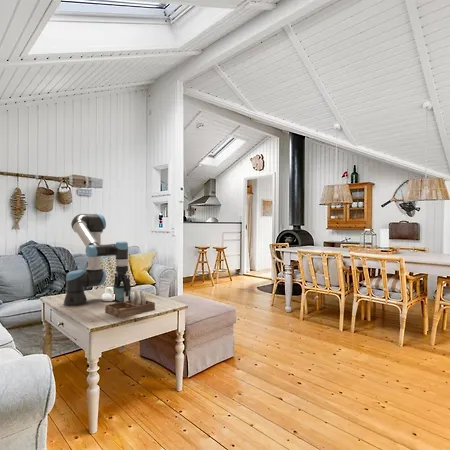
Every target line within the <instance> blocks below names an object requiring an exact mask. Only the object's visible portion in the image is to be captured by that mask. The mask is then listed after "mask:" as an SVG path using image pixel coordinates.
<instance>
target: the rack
mask: <svg viewBox="0 0 450 450" xmlns="http://www.w3.org/2000/svg"><path fill="white" fill-rule="evenodd" d="M130 297H131V299H130V300H129V301H126V302H119V303H117V302H114V303H110V304H106V305H105V306H104V307H105V309H104V311H105V313H106V314H109V315H112V316H114V317H117V318H119V319H121V318H125V317H129V316H133V315H137V314H140V313H141V314H142V313H145V312H149V311H153V310H155V309H156V307H155V306H156V303H155V302H154V301H151V300H148V299H147V298H146V297H147V296H146V294H145V292H144V291H143V290H138V291H133V292H132V293H130Z"/></svg>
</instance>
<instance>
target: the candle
mask: <svg viewBox="0 0 450 450" xmlns="http://www.w3.org/2000/svg"><path fill="white" fill-rule="evenodd" d="M112 290H113V292H114V288H113V289H112ZM131 292H132V291H131V290H130V294H132V293H131ZM129 300H131V295H130V296H129V298H128V301H129ZM119 302H124V301H118V300H117V299H116V297H115V301H114V303H119Z"/></svg>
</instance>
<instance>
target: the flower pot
mask: <svg viewBox="0 0 450 450" xmlns="http://www.w3.org/2000/svg"><path fill="white" fill-rule="evenodd" d="M113 288H114V291H113V294H115V297H116V299H117V300H118V301H124V291H125V290H124V286H123V284H122V285H121V284H120V286H114V285H113ZM130 288H131V286H130ZM131 289H132V288H131ZM129 296H130V297H131V293H130V290H129V291H128V298H129Z"/></svg>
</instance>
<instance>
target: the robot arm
mask: <svg viewBox="0 0 450 450" xmlns="http://www.w3.org/2000/svg"><path fill="white" fill-rule="evenodd" d="M70 225H71V229H72V230H73V232H74V233H76V234H77V235H78V237H79V239H80V240H81V241H82V243H83V244H84V246H85V254H86V257H88V260H87V261H88V263H87V264H88V266H87V267H86V268H85V270H83V269H79V270H78V269H76V270H72V271H69V272H67V273H66V278H65V281H66V283H65V284H66V294H65V297H64V300H63V305H64V306H68V307H74V306H81V305H82V306H83V305H85V304H87V302H88V299H87V296H86V294H85V288H93V287H99V286H103V285H104V283H106V278H107V273H106V270H104V268H103V266H101V262H102V261H101V259H102V258H101V257H108V256H109V257H111V256H115V273H114V283H113V287H114V286H121V284H122V285H123V286H124V290H125V291H124V302H126V301H128V291H129V290H131V289H132V288H130V287H131V282H130V281H131V279H130V274H127V272H129V266H128V265H129V245H128V244H129V243H128V242H127V241H116V242H115V243H109V244H101V239H102V238H101V235H102V233H103V232H104V231H103V230H105V229H106V227H107V221H106V218H105V216H104V215H103V214H100V213H79V214H77V215H76V216H74V217H73V219H72V220H71V224H70Z"/></svg>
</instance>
